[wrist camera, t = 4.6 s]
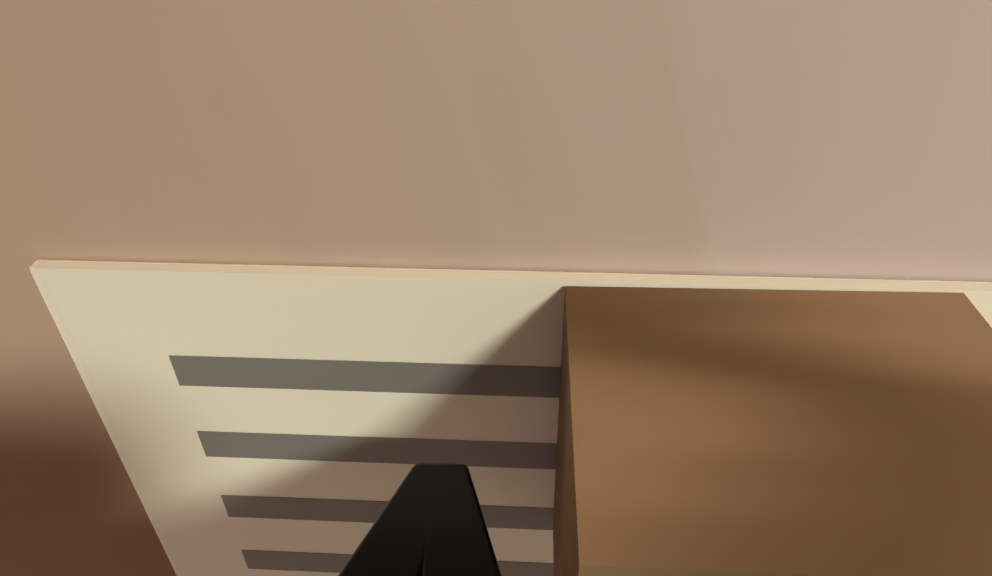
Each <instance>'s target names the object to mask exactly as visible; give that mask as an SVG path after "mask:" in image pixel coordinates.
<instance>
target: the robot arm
mask: <svg viewBox="0 0 992 576" xmlns="http://www.w3.org/2000/svg"><path fill="white" fill-rule="evenodd" d="M338 576H501V572H500V569H499V566H498V563H497V559H496V556H495V553H494V550H493V546H492V543H491V540H490V536H489V533H488V530H487V527H486V523H485V520H484V517H483V514H482V510H481V507H480V504H479V501H478V497H477V494H476V491H475V488H474V484H473V481H472V478H471V475H470V471H469V468H468V467H467V465H465V464H459V463H427V462H420V463H417V464H415V465H414V466H413V467H412V468H411V470H410V471H409V473H408V474H407V476H406V477H405V479H404V480H403V482H402V483H401V484H400V486H399V487H398V489H397V490H396V492H395V493H394V495H393V496H392V498H391V499H390V501H389V502H388V503H387V505H386V506H385V508H384V509H383V511H382V512H381V514H380V515H379V517H378V518H377V520H376V521H375V522H374V524H373V525H372V527H371V528H370V530H369V531H368V533H367V534H366V536H365V537H364V538H363V540H362V541H361V543H360V544H359V546H358V547H357V549H356V550H355V552H354V553H353V555H352V556H351V557H350V559H349V560H348V562H347V563H346V565H345V566H344V568H343V569H342V571H341V572H340V574H339V575H338Z"/></svg>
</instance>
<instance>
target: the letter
mask: <svg viewBox="0 0 992 576" xmlns="http://www.w3.org/2000/svg"><path fill="white" fill-rule="evenodd" d="M29 270H30V272H31V274H32V276H33V278H34V280H35V282H36V284H37V286H38V288H39V290H40V293H41V295H42V297H43V299H44V301H45V303H46V305H47V307H48V309H49V311H50V313H51V315H52V317H53V320H54V322H55V324H56V326H57V328H58V330H59V332H60V334H61V336H62V338H63V340H64V342H65V344H66V347H67V349H68V351H69V353H70V355H71V357H72V359H73V361H74V363H75V365H76V367H77V369H78V371H79V374H80V376H81V378H82V380H83V382H84V384H85V386H86V388H87V390H88V392H89V394H90V396H91V398H92V401H93V403H94V405H95V407H96V409H97V411H98V413H99V415H100V417H101V419H102V421H103V423H104V425H105V428H106V430H107V432H108V434H109V436H110V438H111V440H112V442H113V444H114V446H115V448H116V450H117V453H118V455H119V457H120V459H121V461H122V463H123V465H124V467H125V469H126V471H127V473H128V475H129V477H130V480H131V482H132V484H133V486H134V488H135V490H136V492H137V494H138V496H139V498H140V500H141V502H142V504H143V507H144V509H145V511H146V513H147V515H148V517H149V519H150V521H151V523H152V525H153V527H154V529H155V531H156V534H157V536H158V538H159V540H160V542H161V544H162V546H163V548H164V550H165V552H166V554H167V556H168V558H169V561H170V563H171V565H172V567H173V569H174V571H175V573H176V575H177V576H338V575H339V574H340V572H341V571H342V569H343V568H344V566H345V565H346V563H347V562H348V560H349V559H350V557H351V556H352V555H353V553H354V552H355V550H356V549H357V547H358V546H359V544H360V543H361V541H362V540H363V538H364V537H365V536H366V534H367V533H368V531H369V530H370V528H371V527H372V525H373V524H374V522H375V521H376V520H377V518H378V517H379V515H380V514H381V512H382V511H383V509H384V508H385V506H386V505H387V503H388V502H389V501H390V499H391V498H392V496H393V495H394V493H395V492H396V490H397V489H398V487H399V486H400V484H401V483H402V482H403V480H404V479H405V477H406V476H407V474H408V473H409V471H410V470H411V468H412V467H413V466H414V465H415V464H417V463H420V462H427V463H459V464H465V465H467V467H468V468H469V471H470V475H471V478H472V481H473V484H474V488H475V491H476V494H477V497H478V501H479V504H480V507H481V510H482V514H483V517H484V520H485V523H486V527H487V530H488V533H489V536H490V540H491V543H492V546H493V550H494V553H495V556H496V559H497V563H498V566H499V569H500V572H501V576H554V561H553V510H554V491H555V472H556V453H557V434H558V415H559V396H560V377H561V358H562V338H563V319H564V300H565V286H590V287H650V288H710V289H769V290H829V291H889V292H949V293H964V294H965V295H966V296H967V298H968V299H969V300H970V301H971V303H972V304H973V305H974V306H975V308H976V309H977V310H978V311H979V313H980V314H981V315H982V316H983V317H984V319H985V320H986V321H987V322H988V324H989V325H990V326H991V327H992V282H967V281H924V280H882V279H839V278H796V277H753V276H711V275H668V274H625V273H582V272H539V271H497V270H454V269H411V268H368V267H326V266H283V265H240V264H197V263H154V262H112V261H69V260H36V261H35V262H34V263H33V264H32V265H31V266H30V267H29Z"/></svg>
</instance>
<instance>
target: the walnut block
mask: <svg viewBox="0 0 992 576" xmlns="http://www.w3.org/2000/svg"><path fill="white" fill-rule="evenodd" d="M553 561H554V576H992V327H991V326H990V325H989V324H988V322H987V321H986V320H985V319H984V317H983V316H982V315H981V314H980V313H979V311H978V310H977V309H976V308H975V306H974V305H973V304H972V303H971V301H970V300H969V299H968V298H967V296H966V295H965V294H964V293H949V292H889V291H829V290H769V289H710V288H650V287H590V286H565V300H564V319H563V338H562V358H561V377H560V396H559V415H558V434H557V453H556V472H555V491H554V510H553Z"/></svg>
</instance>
